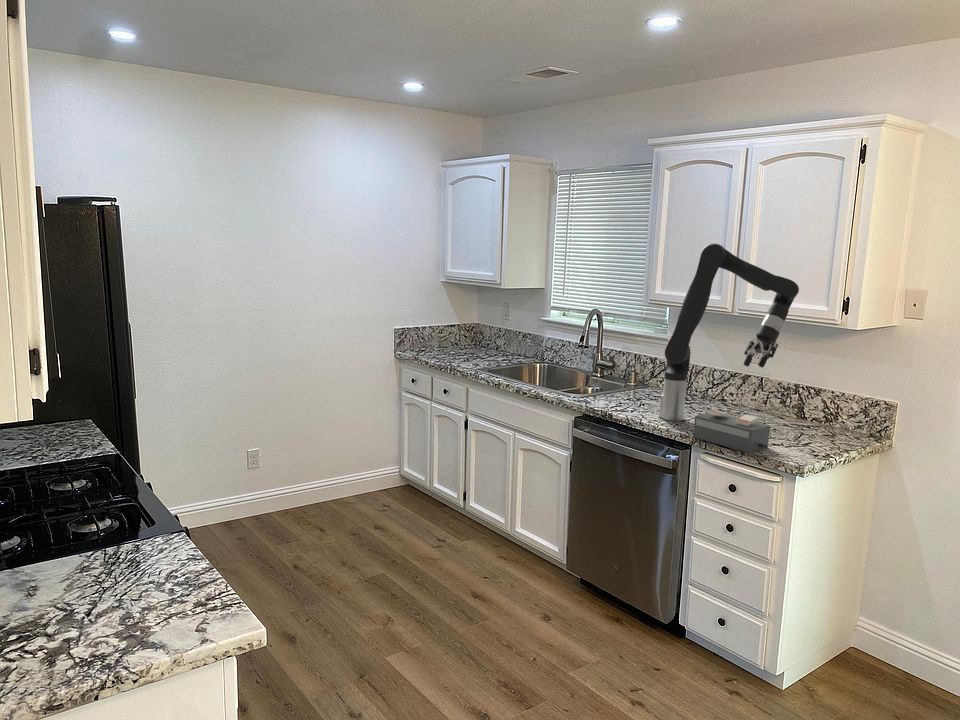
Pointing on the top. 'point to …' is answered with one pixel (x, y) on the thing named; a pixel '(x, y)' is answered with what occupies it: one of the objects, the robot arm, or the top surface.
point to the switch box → (731, 432)
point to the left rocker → (718, 413)
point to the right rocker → (746, 420)
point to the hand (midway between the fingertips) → (753, 366)
